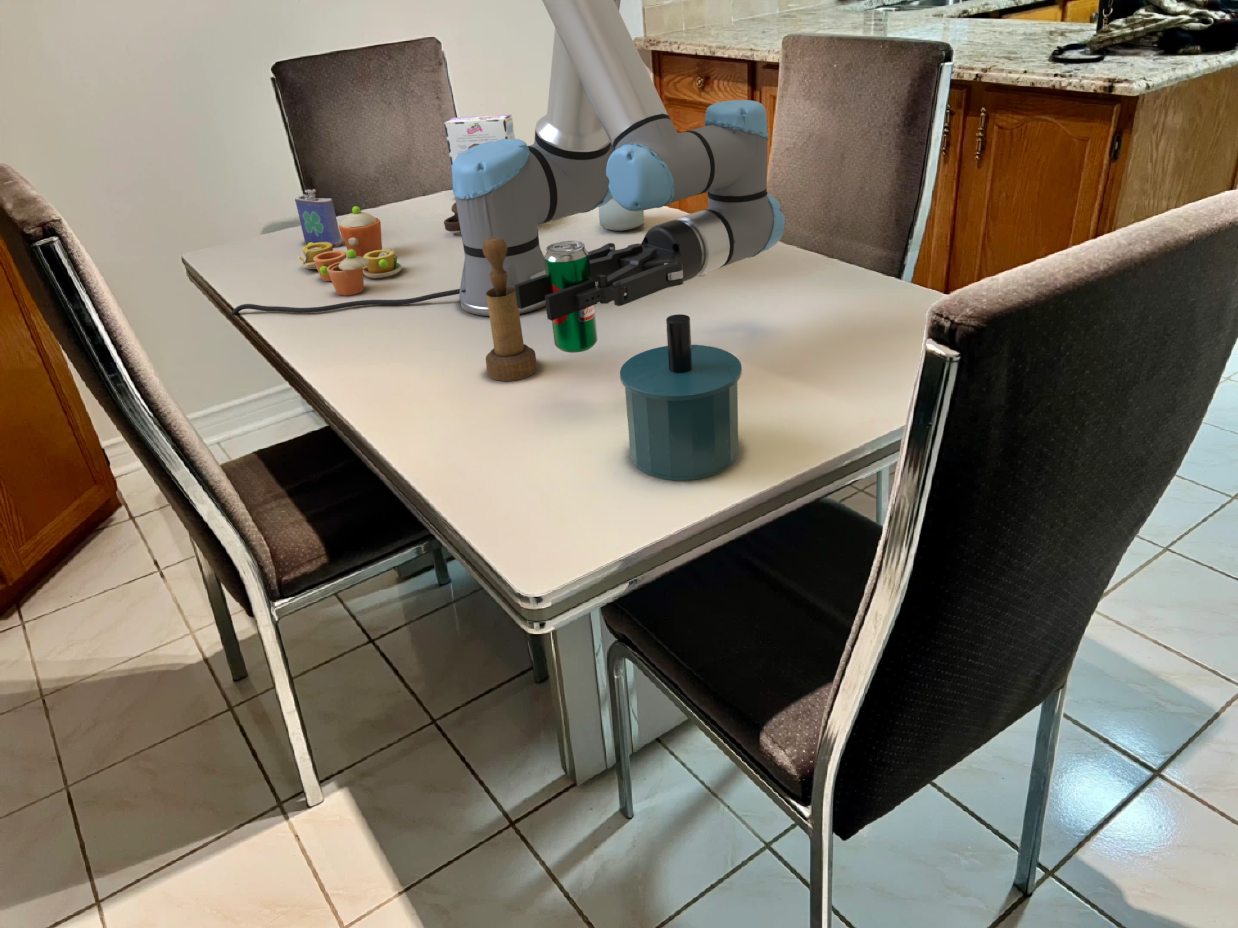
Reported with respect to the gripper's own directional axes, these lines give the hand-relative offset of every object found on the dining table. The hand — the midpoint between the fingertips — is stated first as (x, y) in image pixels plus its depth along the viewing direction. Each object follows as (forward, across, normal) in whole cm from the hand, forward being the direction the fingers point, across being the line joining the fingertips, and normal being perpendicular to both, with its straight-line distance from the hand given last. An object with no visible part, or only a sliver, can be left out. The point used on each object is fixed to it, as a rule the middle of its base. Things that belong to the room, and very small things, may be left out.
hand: (533, 302), depth 104 cm
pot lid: (-5, -18, -5) cm, 19 cm away
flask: (-15, +95, -14) cm, 97 cm away
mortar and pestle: (-5, +15, -15) cm, 22 cm away
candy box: (-57, +98, -14) cm, 114 cm away
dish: (-44, +75, -14) cm, 88 cm away
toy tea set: (-11, +72, -14) cm, 75 cm away
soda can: (-5, 0, -7) cm, 9 cm away
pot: (-5, -18, -15) cm, 24 cm away
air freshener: (-58, +54, -15) cm, 80 cm away
